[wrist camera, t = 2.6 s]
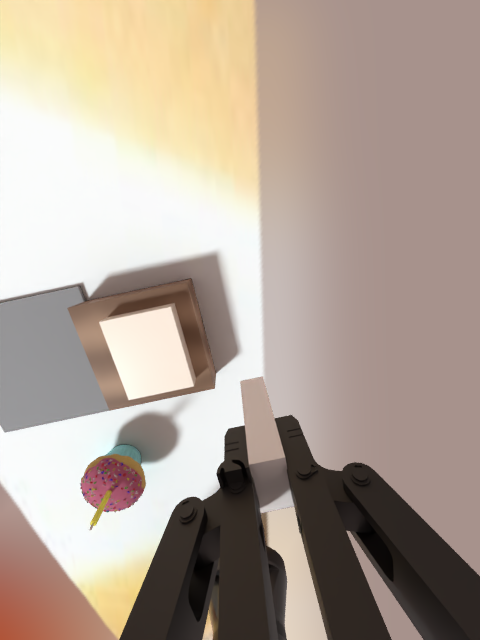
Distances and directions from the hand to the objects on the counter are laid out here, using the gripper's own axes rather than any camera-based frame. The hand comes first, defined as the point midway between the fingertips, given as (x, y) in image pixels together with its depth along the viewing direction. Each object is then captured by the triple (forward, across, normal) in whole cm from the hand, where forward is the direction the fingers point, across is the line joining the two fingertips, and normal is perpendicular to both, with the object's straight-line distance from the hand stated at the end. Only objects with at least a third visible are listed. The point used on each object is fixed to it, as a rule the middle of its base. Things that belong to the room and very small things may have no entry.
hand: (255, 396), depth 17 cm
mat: (+18, +28, 0) cm, 34 cm away
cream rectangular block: (+14, +11, 0) cm, 18 cm away
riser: (+18, +12, 0) cm, 22 cm away
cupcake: (+19, +22, +18) cm, 34 cm away
